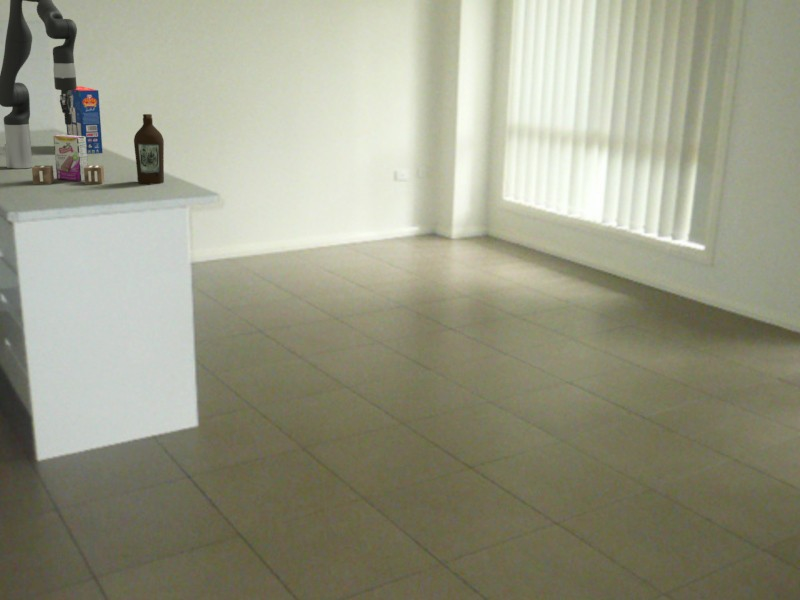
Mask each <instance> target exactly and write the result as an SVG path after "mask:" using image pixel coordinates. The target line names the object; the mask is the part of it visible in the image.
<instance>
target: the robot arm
mask: <svg viewBox="0 0 800 600" xmlns="http://www.w3.org/2000/svg"><path fill="white" fill-rule="evenodd" d="M23 1H24V2H30V3H31V2H32V3H37V4H36V13H37V15H38V17H39V19H40V20H41V21H42V22H43V24H44V28H45V33H46V35H47V37H49V38H50V39H52V40H64V42H63V44H61V45H56V46H54V47H53V48H52V57H53V58H52V61H53V69H52V71H53V81H54V89H55V90H57V91H61V92H60V95H59V103H60V107H61V112H62V114H63V115H64V124H65V126H66V125H71V124H72V116H71V114H72V112H73V100H74V99H73V95H71V90H75V89H77V87H78V86H77V74H76V66H75V58H74V56H75V55H74V50H75V43H76V38H77V33H78V27H77V24H76V23H75V21H74V20H73V19H71V18H64V16H63V14H62V13H61V11H60V10H59V9H58V8H57V6H56V5H55V4H54V2H53V1H52V0H10V1H9V13H8V14H9V15H8V16H9V17H8V23H7V29H6V33H5V34H6V35H5V42H4V43H5V44H4V52H3V58H2V65H1V70H0V106H1V107H5V108H11V111H10V112H9V114H7V115H5V116H4V117H3V128H4V135H5V136H4V137H5V143H4V152H5V153H4V154H5V161H6V162H5V163H6V169H29V168H33V167H34V163H33V162H34V161H33V154H32V142H31V131H30V117H31V106H30V104H31V102H30V93H29V89H28V87H27V86H26V85H25V84H24V83H22V82H16V79H17V77H18V76H17V75H18V74H19V72H20V70H21V68H22V67H23V66H24V64H25V63H26V61H27V60H28V58H29V56H30V54H31V51H32V43H33V34H32V31H31V28H30V26H29V25H28V22H27V21H26V18H25V17H24V12H23Z"/></svg>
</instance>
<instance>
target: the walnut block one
mask: <svg viewBox="0 0 800 600" xmlns="http://www.w3.org/2000/svg"><path fill="white" fill-rule="evenodd" d="M31 173H32V184H33V185H52V184H53V183H54V182H55V179H54V178H55V177H54V176H55V174H54V166H53V165H33V167H31ZM51 183H52V184H51Z"/></svg>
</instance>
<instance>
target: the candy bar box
mask: <svg viewBox="0 0 800 600" xmlns="http://www.w3.org/2000/svg"><path fill="white" fill-rule="evenodd" d="M53 145H54V146H53V147H54V148H53V149H54V155H55V156H54V159H55V169H56V180H62V181H63V180H64V181H70V182H71V181H73V182H85V178H84V167H86V166H89V165H88V154H87V147H86V137H85V136H74V135H67V134H55V135H53Z"/></svg>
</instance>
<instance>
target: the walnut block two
mask: <svg viewBox="0 0 800 600" xmlns="http://www.w3.org/2000/svg"><path fill="white" fill-rule="evenodd" d="M104 169H105V168H104V165H88V166H86V167H84V178H85V181H84V185H103V184H104V183H105V171H104Z"/></svg>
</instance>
